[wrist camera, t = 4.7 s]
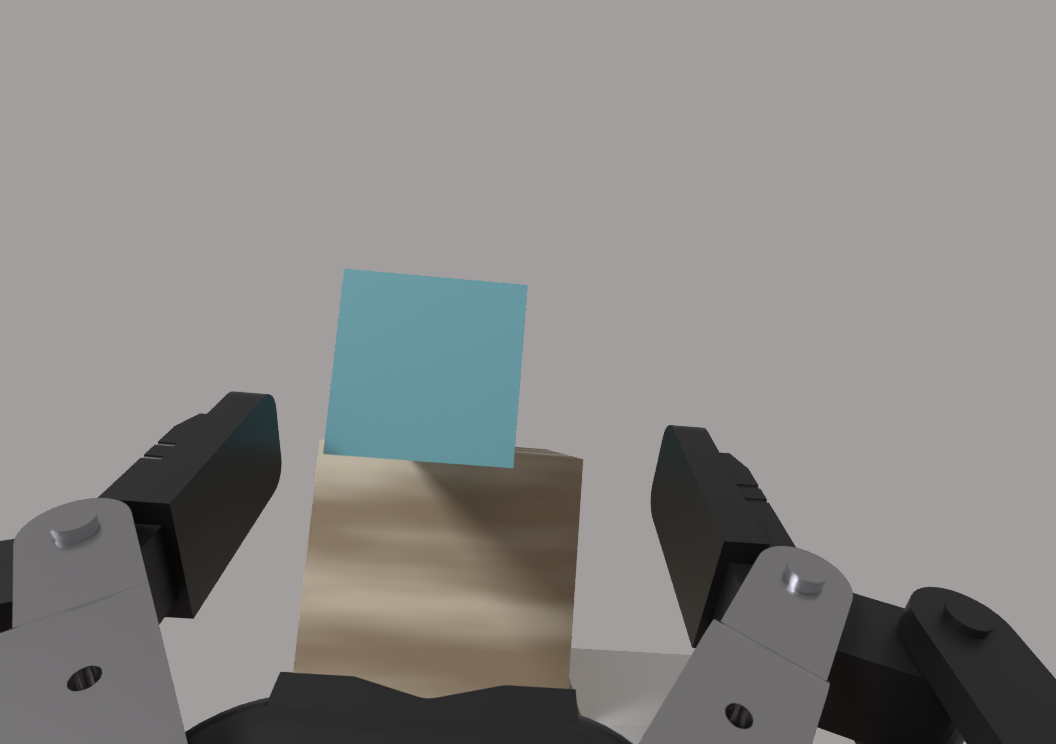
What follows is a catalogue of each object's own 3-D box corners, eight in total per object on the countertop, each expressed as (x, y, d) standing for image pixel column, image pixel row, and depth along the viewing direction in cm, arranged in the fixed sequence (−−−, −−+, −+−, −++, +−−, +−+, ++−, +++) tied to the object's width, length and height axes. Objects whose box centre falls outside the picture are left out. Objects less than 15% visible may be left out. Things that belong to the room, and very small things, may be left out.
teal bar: (512, 468, 12) (527, 284, 13) (322, 454, 12) (344, 268, 13) (500, 446, 38) (505, 385, 39) (439, 441, 38) (445, 380, 38)
